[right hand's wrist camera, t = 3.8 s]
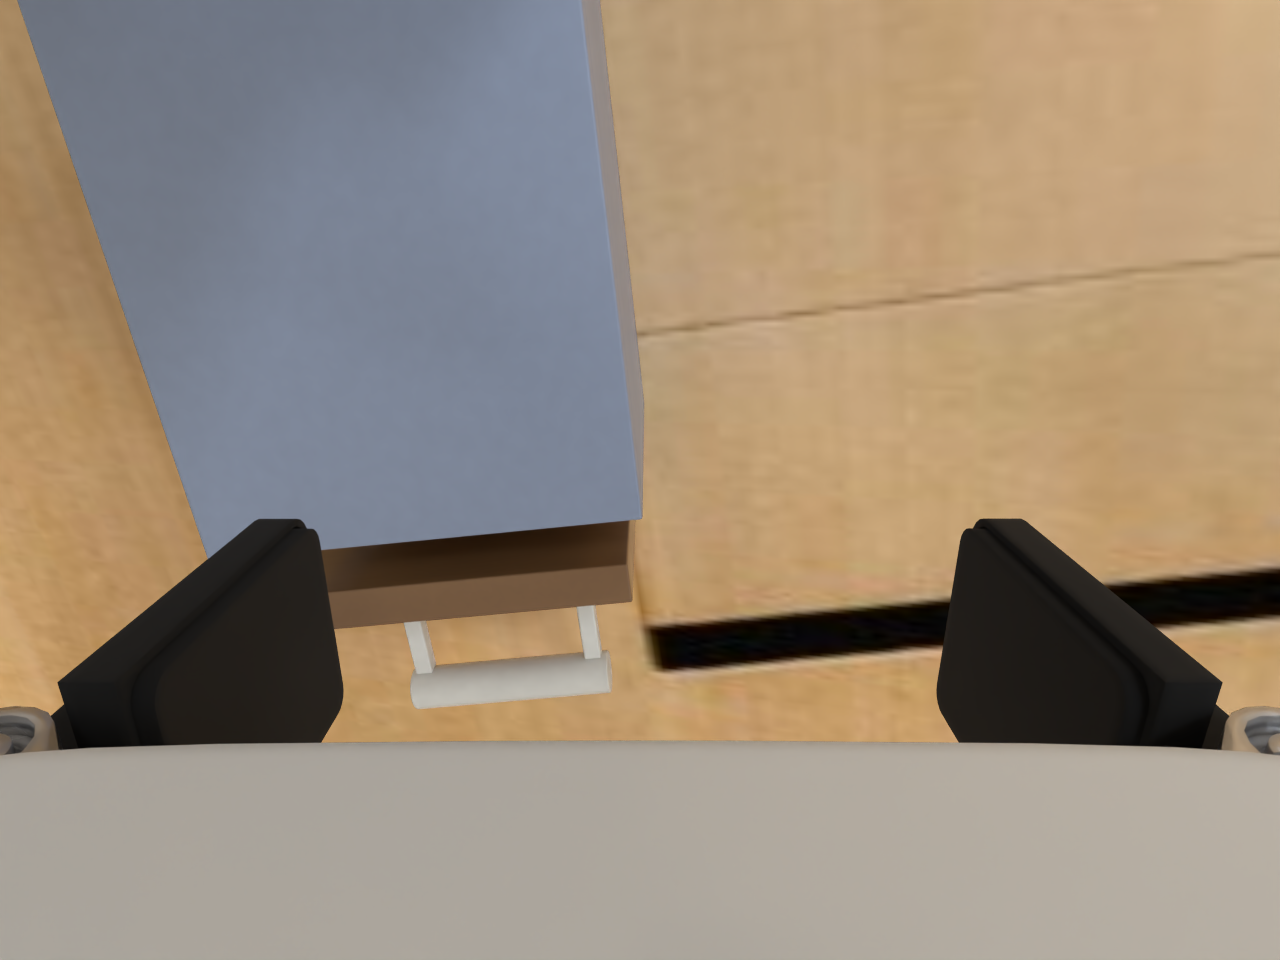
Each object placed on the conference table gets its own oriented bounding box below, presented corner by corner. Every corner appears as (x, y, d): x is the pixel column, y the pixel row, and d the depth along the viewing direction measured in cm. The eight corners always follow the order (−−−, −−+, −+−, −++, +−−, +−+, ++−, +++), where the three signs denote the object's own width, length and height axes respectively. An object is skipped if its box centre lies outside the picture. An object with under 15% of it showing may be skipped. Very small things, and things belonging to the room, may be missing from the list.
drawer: (652, 616, 32) (654, 775, 23) (418, 637, 32) (332, 801, 23) (563, -141, 23) (509, -361, 14) (240, -96, 23) (-11, -281, 14)
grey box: (644, 405, 30) (642, 520, 19) (365, 433, 30) (207, 562, 19) (566, -303, 22) (490, -783, 11) (198, -248, 23) (-210, -657, 12)
